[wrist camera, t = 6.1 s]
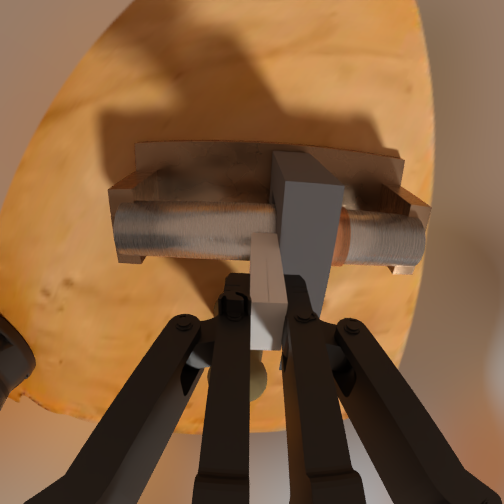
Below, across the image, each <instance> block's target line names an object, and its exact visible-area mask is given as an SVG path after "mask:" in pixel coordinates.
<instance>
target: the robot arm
mask: <svg viewBox="0 0 504 504" xmlns="http://www.w3.org/2000/svg"><path fill="white" fill-rule="evenodd" d="M218 313H219V314H218V315H217V316H216V317H214V318H212V319H209V320H205V321H200V320H199V319H198V318H197V317H196V316H193V315H190V314H181V315H177V316H175V317H173V318H172V319H171V320H170V321H169V322H168V323H167V325H166V326H165V328H164V329H163V330H162V332H161V333H160V335H159V336H158V337H157V339H156V340H155V342H154V343H153V345H152V346H151V347H150V349H149V350H148V352H147V353H146V355H145V356H144V357H143V359H142V360H141V362H140V363H139V365H138V366H137V367H136V369H135V370H134V372H133V373H132V375H131V376H130V377H129V379H128V380H127V382H126V383H125V385H124V386H123V388H122V389H121V391H120V392H119V394H118V395H117V396H116V398H115V399H114V401H113V402H112V404H111V405H110V407H109V408H108V410H107V411H106V413H105V414H104V416H103V417H102V419H101V420H100V422H99V423H98V425H97V426H96V428H95V429H94V431H93V432H92V434H91V435H90V437H89V438H88V440H87V441H86V443H85V444H84V446H83V447H82V449H81V450H80V452H79V454H78V455H77V457H76V458H75V460H74V461H73V463H72V464H71V466H70V467H69V469H68V471H67V472H66V474H65V475H64V476H63V477H61V478H60V479H58V480H57V481H55V482H54V483H53V484H51V485H50V486H48V487H47V488H45V489H44V490H42V491H41V492H40V493H38V494H36V495H35V496H33V497H32V498H30V499H29V500H27V501H26V502H25V503H24V504H137V502H138V500H139V498H140V496H141V494H142V492H143V490H144V488H145V486H146V485H147V483H148V481H149V479H150V477H151V474H152V473H153V471H154V469H155V467H156V464H157V463H158V461H159V459H160V457H161V455H162V453H163V451H164V449H165V447H166V445H167V443H168V441H169V439H170V437H171V435H172V433H173V431H174V429H175V427H176V425H177V423H178V421H179V419H180V417H181V415H182V413H183V411H184V409H185V407H186V405H187V403H188V401H189V399H190V397H191V395H192V393H193V391H194V389H195V387H196V385H197V383H198V381H199V379H200V377H201V375H202V373H203V371H204V368H205V367H210V366H211V372H210V380H209V387H208V395H207V403H206V410H205V418H204V427H203V435H202V443H201V452H200V461H199V469H198V474H197V475H196V477H195V482H194V489H193V497H192V504H249V420H250V350H281V345H282V356H281V362H280V368H279V370H282V377H283V390H284V403H285V417H286V431H287V444H288V445H287V446H288V461H289V479H290V501H289V504H366V500H365V495H364V489H363V483H362V479H361V476H360V475H359V473H358V472H357V471H355V470H353V468H352V465H351V460H350V455H349V450H348V444H347V439H346V434H345V429H344V424H343V419H342V414H341V409H340V405H339V400H340V401H341V403H342V405H343V407H344V409H345V411H346V413H347V415H348V417H349V419H350V420H351V422H352V424H353V426H354V428H355V430H356V432H357V434H358V436H359V438H360V440H361V442H362V443H363V445H364V447H365V449H366V451H367V453H368V455H369V457H370V459H371V461H372V463H373V465H374V466H375V468H376V470H377V472H378V474H379V476H380V478H381V480H382V482H383V484H384V486H385V488H386V490H387V492H388V494H389V496H390V498H391V499H392V501H393V503H394V504H502V501H501V498H500V496H499V495H498V494H497V493H495V492H494V491H493V490H492V489H490V488H489V487H488V486H486V485H485V484H484V483H482V482H481V481H480V480H478V479H477V478H476V477H474V476H473V475H472V474H471V473H469V472H468V471H467V470H465V469H464V467H463V466H462V464H461V462H460V461H459V459H458V458H457V456H456V454H455V453H454V451H453V450H452V448H451V447H450V445H449V444H448V442H447V441H446V439H445V438H444V436H443V434H442V433H441V432H440V430H439V428H438V427H437V425H436V424H435V422H434V421H433V420H432V418H431V416H430V415H429V413H428V412H427V411H426V409H425V408H424V406H423V405H422V403H421V402H420V400H419V399H418V397H417V396H416V395H415V393H414V392H413V390H412V389H411V387H410V386H409V385H408V383H407V382H406V381H405V379H404V378H403V376H402V375H401V373H400V372H399V371H398V369H397V368H396V366H395V365H394V364H393V362H392V361H391V360H390V358H389V357H388V355H387V354H386V353H385V351H384V350H383V349H382V347H381V346H380V345H379V343H378V342H377V340H376V339H375V338H374V336H373V335H372V334H371V332H370V331H369V330H368V328H367V327H366V326H365V325H364V324H363V323H362V322H361V321H359V320H357V319H353V318H345V319H342V320H340V321H339V322H338V324H337V325H335V324H330V323H327V322H324V321H322V320H320V319H319V317H318V315H317V314H316V313H315V312H314V311H313V310H312V306H311V302H310V298H309V294H308V290H307V286H306V282H305V280H304V279H303V278H302V277H301V276H300V275H289V274H283V268H282V262H281V255H280V249H279V243H278V237H277V234H274V233H251V254H250V274H246V273H230V274H229V275H228V276H227V277H226V280H225V286H224V293H222V294H221V295H220V296H219V298H218ZM35 366H36V362H35V358H34V355H33V353H32V351H31V349H30V348H29V346H28V345H27V343H26V342H25V340H24V339H23V338H22V337H21V335H20V334H19V333H18V332H17V331H16V330H15V329H14V328H13V327H12V326H11V325H10V324H9V323H8V322H7V321H6V320H5V319H3V318H2V317H1V316H0V410H1V408H2V406H3V404H4V403H5V401H6V399H7V397H8V395H9V393H10V392H11V391H12V390H13V389H14V388H15V387H17V386H18V385H19V384H20V383H21V382H23V381H24V379H27V378H28V377H29V376H30V375H31V374H32V372H33V370H34V368H35ZM338 398H339V400H338Z"/></svg>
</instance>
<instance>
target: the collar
mask: <svg viewBox="0 0 504 504" xmlns="http://www.w3.org/2000/svg"><path fill="white" fill-rule="evenodd" d="M344 188H345V186H344V185H343V184H342V183H341V182H340V181H339V180H338V179H337V178H336V177H335V176H334V175H333V174H332V173H331V172H329V171H328V170H327V169H326V168H325V167H324V166H323V165H322V164H321V163H320V162H318V161H317V160H316V159H315V158H314V157H313V156H312V155H311V154H309V153H298V152H286V151H273V153H272V168H271V183H270V197H269V204H276V209H277V221H276V233H275V234H277V237H278V243H279V249H280V255H281V262H282V268H283V274H289V275H300V276H301V277H302V278H303V279H304V280H305V282H306V286H307V290H308V294H309V298H310V302H311V306H312V310H313V311H314V312H315V313H316V314H317V315H318V317H319V318H320V314H321V310H322V306H323V301H324V297H325V292H326V288H327V283H328V278H329V273H330V268H331V263H332V258H333V253H334V248H335V242H336V237H337V231H338V226H339V220H340V214H341V208H342V201H343V195H344Z"/></svg>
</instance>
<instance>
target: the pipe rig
mask: <svg viewBox="0 0 504 504" xmlns="http://www.w3.org/2000/svg"><path fill="white" fill-rule="evenodd" d="M273 151H286V152H298V153H309V154H311V155H312V156H313V157H314V158H315V159H316V160H317V161H318V162H320V163H321V164H322V165H323V166H324V167H325V168H326V169H327V170H328V171H329V172H331V173H332V174H333V175H334V176H335V177H336V178H337V179H338V180H339V181H340V182H341V183H342V184H343V185H344V186H345V188H344V195H343V201H342V208H341V214H340V220H339V226H338V231H337V237H336V242H335V248H334V253H333V258H332V263H331V266H342V265H343V264H345V265H374V266H387V267H388V268H389V270H390V271H391V272H392V274H409V275H412V274H413V271H414V268H415V265H417V264H418V263H419V262H420V260H421V258H422V256H423V253H424V249H425V231H426V228H427V224H428V220H429V216H430V212H431V208H432V207H430V206H429V205H428V204H426V203H425V202H423V201H422V200H420V199H419V198H418V197H416V196H415V195H413V194H412V193H410V192H409V191H407V190H406V189H404V188H403V187H401V186H400V185H401V180H402V174H403V168H404V162H405V160H403V159H401V158H396V157H390V156H385V155H379V154H372V153H366V152H359V151H352V150H345V149H337V148H329V147H320V146H310V145H299V144H287V143H273V142H255V141H227V140H179V141H151V142H137V143H135V159H136V171H135V172H134V173H132V174H130V175H129V176H127V177H126V178H124V179H123V180H121V181H120V182H118V183H117V184H115V185H114V186H112V187H111V188H109V189H108V196H109V204H110V212H111V220H112V226H113V233H114V241H115V245H116V251H117V257H118V262H119V263H130V264H142V262H143V261H144V259H145V257H146V256H158V257H178V258H199V259H221V260H244V261H250V254H251V233H274V234H275V233H276V221H277V209H276V204H269V197H270V183H271V168H272V153H273Z"/></svg>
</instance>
